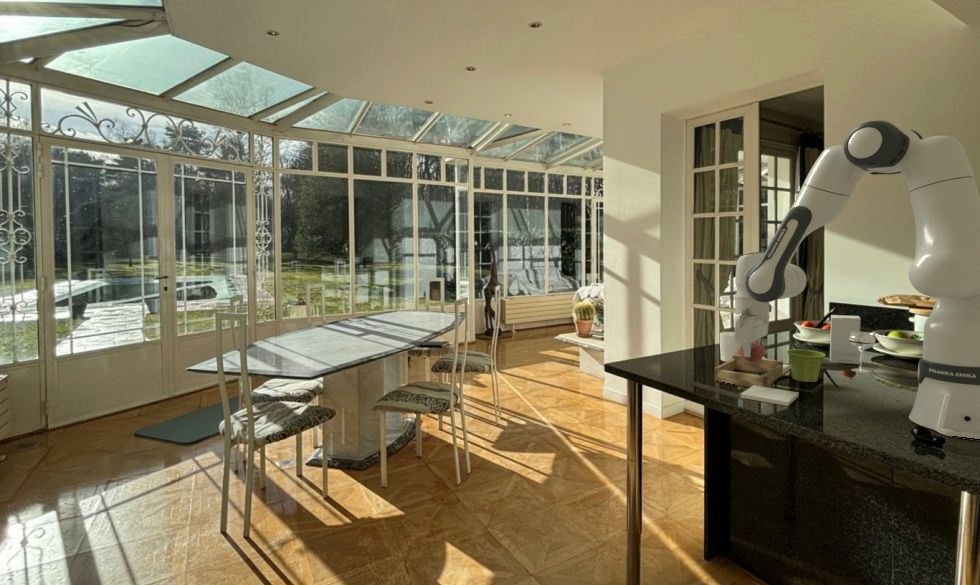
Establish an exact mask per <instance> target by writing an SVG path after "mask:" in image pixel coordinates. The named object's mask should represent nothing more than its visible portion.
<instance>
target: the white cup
mask: <svg viewBox="0 0 980 585" xmlns="http://www.w3.org/2000/svg"><path fill="white" fill-rule="evenodd" d="M734 335H735V331H722V332H720V333H719V349H720V351H719V353H720V360H721V361H723V362H724V363H725V362H727V361H729V360H731V359H733V355H737V356H739V355H740V354H739V353H737V352H739V351H738V350H737V349H740V347H739V346H741V347H742V343H736V342H735V339H734Z"/></svg>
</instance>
